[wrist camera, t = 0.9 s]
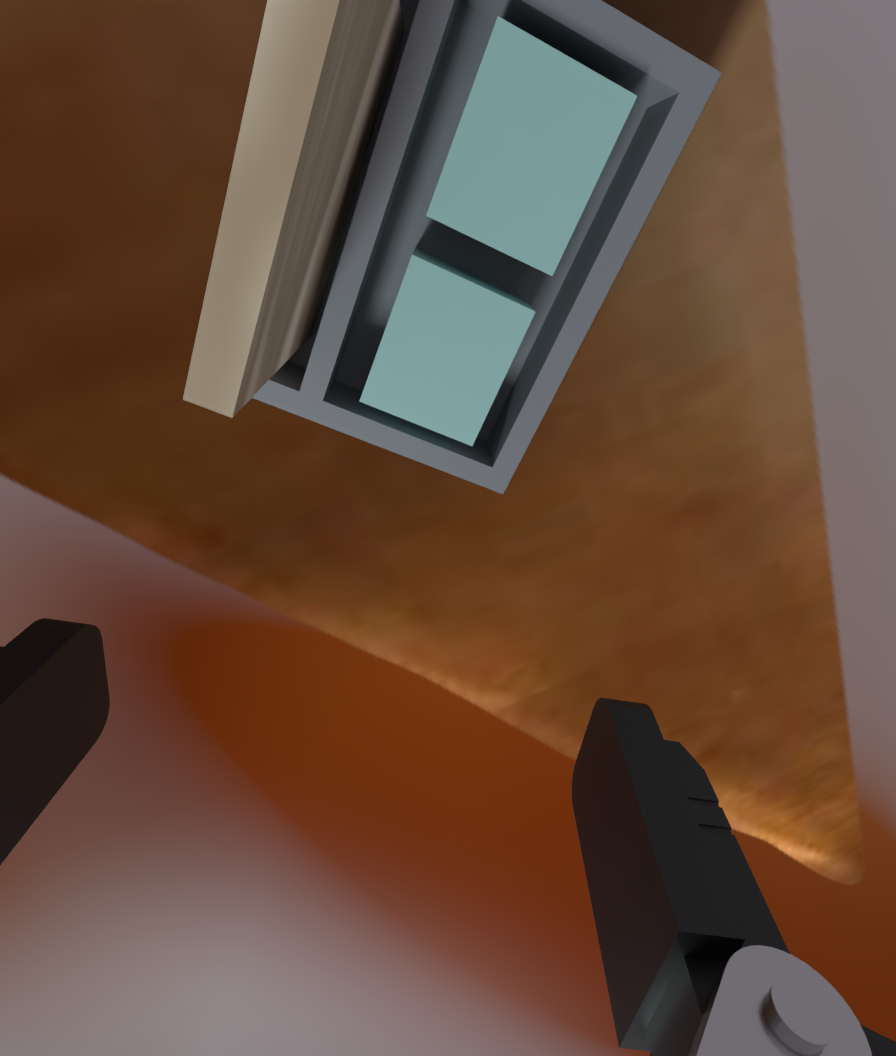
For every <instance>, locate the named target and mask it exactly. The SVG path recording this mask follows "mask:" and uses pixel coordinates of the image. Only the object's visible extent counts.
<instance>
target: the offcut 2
mask: <svg viewBox="0 0 896 1056" xmlns="http://www.w3.org/2000/svg"><path fill="white" fill-rule="evenodd" d="M535 312H536V311H535V310H534V309H533V308H532V307H531V306H530V305H529V304H528V303H527V302H526V301H525V300H524V299H523V298H522V297H520V296H518V295H516V294H514V293H512V292H510V291H508V290H505V289H503V288H501V287H499V286H497V285H495V284H493V283H490V282H488V281H486V280H484V279H482V278H480V277H477V276H475V275H473V274H471V273H469V272H467V271H465V270H462V269H460V268H458V267H456V266H454V265H452V264H450V263H447V262H445V261H443V260H441V259H439V258H437V257H435V256H432V255H430V254H428V253H426V252H424V251H422V250H420V249H417V248H415V249H414V251H413V254H412V256H411V259H410V262H409V264H408V267H407V270H406V273H405V276H404V278H403V281H402V284H401V287H400V289H399V292H398V295H397V298H396V301H395V303H394V306H393V309H392V312H391V315H390V317H389V320H388V323H387V326H386V328H385V331H384V334H383V337H382V340H381V342H380V345H379V348H378V351H377V353H376V356H375V359H374V362H373V365H372V367H371V370H370V373H369V376H368V379H367V381H366V384H365V387H364V390H363V392H362V395H361V398H360V401H359V402H362V403H364V404H367V405H369V406H372V407H374V408H377V409H379V410H382V411H384V412H387V413H389V414H392V415H395V416H397V417H400V418H402V419H405V420H407V421H410V422H412V423H415V424H417V425H420V426H422V427H425V428H427V429H430V430H432V431H435V432H437V433H440V434H442V435H445V436H447V437H450V438H452V439H455V440H457V441H460V442H462V443H465V444H467V445H470V446H473V444H474V442H475V440H476V437H477V435H478V433H479V431H480V429H481V427H482V425H483V423H484V420H485V418H486V416H487V414H488V412H489V410H490V408H491V406H492V403H493V401H494V399H495V397H496V395H497V393H498V391H499V389H500V387H501V384H502V382H503V380H504V378H505V376H506V374H507V372H508V370H509V367H510V365H511V363H512V361H513V359H514V357H515V355H516V353H517V350H518V348H519V346H520V344H521V342H522V340H523V338H524V336H525V333H526V331H527V329H528V327H529V325H530V323H531V321H532V319H533V317H534V314H535Z"/></svg>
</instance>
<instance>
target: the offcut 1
mask: <svg viewBox="0 0 896 1056" xmlns="http://www.w3.org/2000/svg"><path fill="white" fill-rule="evenodd" d="M636 98H637V95H635V94H633V93H632V92H630V91H628V90H626V89H625V88H623V87H621V86H619V85H618V84H616V83H614V82H612V81H611V80H609V79H607V78H605V77H604V76H602V75H600V74H598V73H597V72H595V71H593V70H591V69H590V68H588V67H586V66H584V65H583V64H581V63H579V62H577V61H576V60H574V59H572V58H570V57H569V56H567V55H565V54H563V53H562V52H560V51H558V50H556V49H555V48H553V47H551V46H549V45H548V44H546V43H544V42H542V41H541V40H539V39H537V38H535V37H534V36H532V35H530V34H528V33H527V32H525V31H523V30H521V29H520V28H518V27H516V26H514V25H513V24H511V23H509V22H507V21H506V20H504V19H502V18H500V17H499V16H498V17H497V20H496V22H495V25H494V28H493V31H492V34H491V36H490V39H489V42H488V45H487V47H486V50H485V53H484V56H483V59H482V61H481V64H480V67H479V70H478V72H477V75H476V78H475V81H474V84H473V86H472V89H471V92H470V95H469V98H468V100H467V103H466V106H465V109H464V111H463V114H462V117H461V120H460V123H459V125H458V128H457V131H456V134H455V136H454V139H453V142H452V145H451V148H450V150H449V153H448V156H447V159H446V162H445V164H444V167H443V170H442V173H441V175H440V178H439V181H438V184H437V187H436V189H435V192H434V195H433V198H432V200H431V203H430V206H429V209H428V212H427V214H426V216H428V217H430V218H432V219H434V220H436V221H438V222H440V223H442V224H444V225H446V226H448V227H451V228H453V229H455V230H457V231H459V232H461V233H463V234H465V235H467V236H469V237H471V238H473V239H476V240H478V241H480V242H482V243H484V244H486V245H488V246H490V247H492V248H494V249H496V250H498V251H501V252H503V253H505V254H507V255H509V256H511V257H513V258H515V259H517V260H519V261H521V262H523V263H526V264H528V265H530V266H532V267H534V268H536V269H538V270H540V271H542V272H544V273H546V274H548V275H551V276H553V274H554V272H555V270H556V268H557V266H558V263H559V261H560V259H561V257H562V255H563V253H564V251H565V249H566V246H567V244H568V242H569V240H570V238H571V236H572V234H573V232H574V230H575V227H576V225H577V223H578V221H579V219H580V217H581V215H582V213H583V210H584V208H585V206H586V204H587V202H588V200H589V198H590V196H591V193H592V191H593V189H594V187H595V185H596V183H597V181H598V179H599V176H600V174H601V172H602V170H603V168H604V166H605V164H606V162H607V160H608V157H609V155H610V153H611V151H612V149H613V147H614V145H615V143H616V140H617V138H618V136H619V134H620V132H621V130H622V128H623V126H624V123H625V121H626V119H627V117H628V115H629V113H630V111H631V109H632V106H633V104H634V102H635V100H636Z"/></svg>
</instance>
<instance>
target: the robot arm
mask: <svg viewBox="0 0 896 1056" xmlns="http://www.w3.org/2000/svg"><path fill="white" fill-rule="evenodd" d="M109 703H110V700H109V691H108V683H107V675H106V667H105V659H104V651H103V642H102V636H101V633H100V630H99V629H98V628H97V627H96V626H94V625H90V624H83V623H75V622H68V621H61V620H54V619H45V618H44V619H39V620H37V621H35V622H34V623H32V624H31V625H30V626H29V627H27V628H26V629H25V630H24V631H23V632H22V633H20V634H19V635H18V636H17V637H15V638H14V639H13V640H12V641H11V642H9V643H8V644H7V645H6V646H5V647H0V865H1V863H2V862H3V861H4V860H5V858H6V857H7V856H8V854H9V853H10V852H11V851H12V849H13V848H14V847H15V845H16V844H17V843H18V842H19V840H20V839H21V838H22V836H23V835H24V834H25V833H26V831H27V830H28V829H29V827H30V826H31V825H32V824H33V822H34V821H35V820H36V818H37V817H38V816H39V815H40V813H41V812H42V811H43V809H44V808H45V807H46V806H47V804H48V803H49V802H50V800H51V799H52V798H53V797H54V795H55V794H56V793H57V791H58V790H59V789H60V788H61V786H62V785H63V784H64V782H65V781H66V779H68V777H69V776H70V774H71V773H72V772H73V771H74V770H75V768H76V767H77V766H78V764H79V763H80V762H81V760H82V759H83V758H84V757H85V755H86V754H87V753H88V751H89V750H90V749H91V748H92V746H93V745H94V744H95V742H96V741H97V740H98V738H99V736H100V735H101V733H102V731H103V728H104V726H105V723H106V720H107V717H108V713H109V705H110V704H109ZM572 803H573V810H574V815H575V820H576V825H577V831H578V836H579V841H580V847H581V852H582V856H583V862H584V867H585V872H586V878H587V882H588V888H589V893H590V899H591V904H592V909H593V914H594V919H595V925H596V930H597V935H598V940H599V945H600V951H601V956H602V961H603V966H604V971H605V976H606V981H607V987H608V992H609V997H610V1003H611V1008H612V1013H613V1018H614V1023H615V1029H616V1034H617V1039H618V1044H619V1047H620V1048H627V1049H636V1050H644V1051H649V1053H650V1056H896V1042H895V1041H893V1040H891V1039H889V1038H886V1037H884V1036H882V1035H880V1034H878V1033H876V1032H874V1031H872V1030H870V1029H868V1028H866V1027H864V1026H863V1025H861V1024H860V1023H859V1022H858V1020H857V1018H856V1017H855V1015H854V1013H853V1012H852V1010H851V1009H850V1007H849V1006H848V1005H847V1003H846V1002H845V1001H844V1000H843V998H842V997H841V995H840V994H839V993H838V992H837V991H836V990H835V989H834V988H833V987H832V985H831V984H830V983H828V981H826V980H825V979H824V978H823V977H822V976H821V975H820V974H819V973H818V972H816V971H815V970H814V969H813V968H811V967H810V966H809V965H807V964H806V963H804V962H802V961H801V960H799V959H798V958H796V957H795V956H792V955H791V954H790V952H789V950H788V948H787V946H786V945H785V943H784V941H783V938H782V936H781V934H780V932H779V930H778V928H777V926H776V923H775V921H774V919H773V917H772V915H771V913H770V910H769V908H768V906H767V904H766V902H765V900H764V898H763V895H762V893H761V891H760V889H759V887H758V885H757V883H756V880H755V878H754V876H753V874H752V872H751V870H750V868H749V865H748V863H747V861H746V859H745V857H744V854H743V852H742V850H741V848H740V846H739V844H738V842H737V840H736V838H735V835H732V834H731V826H730V824H729V822H728V820H727V818H726V816H725V814H724V811H723V809H722V808H720V807H719V805H718V803H719V801H718V799H717V796H716V794H715V792H714V790H713V788H712V786H711V783H710V781H709V779H708V777H707V775H706V773H705V771H704V769H703V768H702V767H701V766H700V765H699V764H698V763H697V761H696V760H695V759H694V758H693V757H692V756H691V755H690V754H689V752H688V751H687V750H686V749H685V748H684V747H683V746H682V745H681V744H680V742H675V741H668V740H664V739H663V736H662V734H661V732H660V729H659V727H658V724H657V722H656V719H655V717H654V714H653V712H652V710H651V708H650V707H649V706H648V705H647V704H643V703H635V702H628V701H621V700H614V699H607V698H599V699H598V700H597V702H596V703H595V705H594V708H593V711H592V714H591V717H590V720H589V723H588V726H587V729H586V732H585V735H584V738H583V741H582V745H581V748H580V751H579V754H578V757H577V760H576V763H575V766H574V771H573V778H572Z"/></svg>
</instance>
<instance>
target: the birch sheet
mask: <svg viewBox="0 0 896 1056" xmlns="http://www.w3.org/2000/svg"><path fill="white" fill-rule="evenodd" d="M403 31H404V24H403V18H402V12H401V6H400V1H399V0H267V5H266V10H265V14H264V19H263V24H262V29H261V33H260V38H259V43H258V47H257V52H256V57H255V62H254V66H253V71H252V76H251V80H250V85H249V90H248V95H247V99H246V104H245V109H244V114H243V118H242V123H241V128H240V132H239V137H238V142H237V147H236V151H235V156H234V161H233V165H232V170H231V175H230V180H229V184H228V189H227V194H226V198H225V203H224V208H223V213H222V217H221V222H220V227H219V231H218V236H217V241H216V246H215V250H214V255H213V260H212V264H211V269H210V274H209V279H208V283H207V288H206V293H205V297H204V302H203V307H202V312H201V316H200V321H199V326H198V331H197V335H196V340H195V345H194V349H193V354H192V359H191V364H190V368H189V373H188V378H187V382H186V387H185V392H184V397H183V400H186V401H188V402H191V403H194V404H196V405H199V406H202V407H204V408H207V409H210V410H212V411H215V412H218V413H220V414H223V415H226V416H228V417H231V418H233V417H234V415H235V414H236V413H237V412H238V411H239V410H240V409H241V408H242V407H243V406H244V405H245V404H246V403H247V402H248V401H249V400H250V399H251V398H252V397H253V396H254V395H255V394H256V393H257V392H258V391H259V389H260V388H261V387H262V386H263V385H264V384H265V383H266V382H267V381H268V380H269V379H270V378H271V377H272V376H273V375H274V374H275V373H276V372H277V371H278V370H279V369H280V368H281V367H282V366H283V365H284V364H285V362H286V361H287V360H288V359H289V358H290V357H291V356H292V355H293V354H294V353H295V352H296V351H297V350H298V349H299V348H300V347H301V346H302V345H303V344H304V343H305V342H306V341H307V340H308V339H309V338H310V336H311V335H312V331H313V328H314V325H315V321H316V318H317V315H318V312H319V308H320V305H321V302H322V298H323V295H324V292H325V288H326V285H327V282H328V279H329V275H330V272H331V269H332V265H333V262H334V259H335V255H336V252H337V249H338V245H339V242H340V239H341V236H342V232H343V229H344V226H345V222H346V219H347V216H348V212H349V209H350V206H351V203H352V199H353V196H354V193H355V189H356V186H357V183H358V179H359V176H360V173H361V170H362V166H363V163H364V160H365V156H366V153H367V150H368V146H369V143H370V140H371V136H372V133H373V130H374V127H375V123H376V120H377V117H378V113H379V110H380V107H381V103H382V100H383V97H384V94H385V90H386V87H387V84H388V80H389V77H390V74H391V70H392V67H393V64H394V61H395V57H396V54H397V51H398V47H399V44H400V41H401V37H402V34H403Z"/></svg>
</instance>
